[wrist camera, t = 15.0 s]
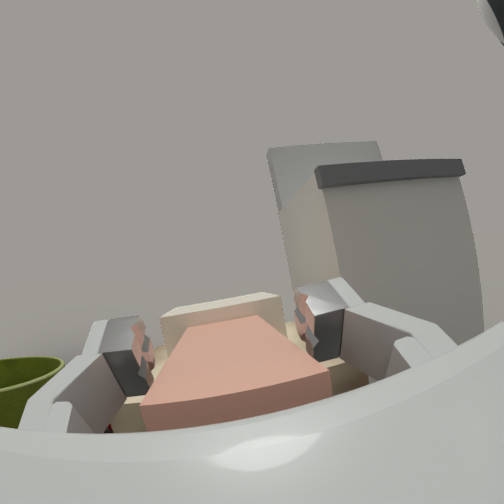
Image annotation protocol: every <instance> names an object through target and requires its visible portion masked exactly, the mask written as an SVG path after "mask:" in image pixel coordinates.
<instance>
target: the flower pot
mask: <svg viewBox="0 0 504 504" xmlns="http://www.w3.org/2000/svg"><path fill="white" fill-rule="evenodd" d="M64 367H65V363H64V361H63V360H62V359H60V358H56V357H47V356H46V357H45V356H35V357H34V356H33V357H18V358H10V359H1V360H0V427H7V428H14V429H18V427H19V424H20V421H21V418H22V415H23V412H24V409H25V406H26V404H27V401H28V399H29V398H30V397H32V396H33V395H34V394H35V393H36V392H37V391H38V390H39V389H40V388H41V387H43V386H44V385H45V384H46V383H47V382H48V381H49V380H50V379H51V378H53V377H54V376H55V375H56V374H57V373H58V372H59V371H60V370H62V369H63V368H64Z"/></svg>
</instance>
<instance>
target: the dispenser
mask: <svg viewBox="0 0 504 504" xmlns="http://www.w3.org/2000/svg"><path fill="white" fill-rule="evenodd" d="M267 159H268V164H269V168H270V173H271V178H272V182H273V187H274V192H275V196H276V201H277V206H278V211H279V213H278V214H279V220H280V225H281V230H282V234H283V240H284V245H285V250H286V255H287V261H288V265H289V271H290V276H291V282H292V287H293V293H294V288H297V287H301V286H306V285H310V284H314V283H318V282H322V281H326V280H329V279H333V278H337V277H342V278H343V279H344V280H345V281H346V282H347V283H348V284H349V285H350V287H351V288H352V289H353V290H354V291H355V292H356V293H357V294H358V295H359V296H360V298H361V299H362V300H363V301H364V302H365V303H368V302H371V303H374V304H377V305H380V306H383V307H386V308H389V309H392V310H395V311H398V312H401V313H404V314H407V315H410V316H413V317H416V318H419V319H423V320H426V321H429V322H432V323H435V324H437V325H438V326H439V327H440V328H441V329H442V330H443V331H444V332H445V333H446V334H447V335H448V336H449V337H450V338H451V339H452V340H453V341H454V342H455V343H456V344H457V345H460V344H462V343H464V342H466V341H468V340H470V339H472V338H474V337H475V336H477V335H479V334H481V333H483V332H484V321H483V306H482V294H481V284H480V276H479V268H478V263H477V255H476V250H475V243H474V238H473V233H472V228H471V223H470V219H469V214H468V210H467V206H466V201H465V198H464V194H463V190H462V186H461V183H460V179H459V177H460V176H462V175H465V174H466V173H465V169H464V166H463V163H462V160H461V159H419V160H418V159H417V160H390V161H383V160H382V157H381V153H380V150H379V147H378V144H377V142H376V141H369V142H344V143H343V142H342V143H325V144H312V145H311V144H310V145H297V146H287V147H276V148H269V150H268V152H267ZM297 307H298V306H297V305H296V308H297ZM368 378H369V384H371V383H374V382H377V380H375V379H373V378H372V377H370V376H368Z"/></svg>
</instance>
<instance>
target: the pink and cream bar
mask: <svg viewBox="0 0 504 504" xmlns="http://www.w3.org/2000/svg"><path fill="white" fill-rule="evenodd" d="M159 319H160V324H161V328H162V333H163V338H164V343H165V347H166V352H167V356H168V360H167V361H166V363H165V364H164V366H163V368H162V369H161V371H160V372H159V374H158V376H157V377H156V379H155V381H154V382H153V384H152V386H151V387H150V389H149V390H148V392H147V394H146V395H145V397H144V399H143V400H142V402H141V403H140V405H139V407H140V410H141V413H142V417H143V420H144V423H145V426H146V429H147V432H150V431H162V430H173V429H182V428H190V427H198V426H205V425H211V424H218V423H224V422H230V421H235V420H240V419H246V418H251V417H255V416H260V415H265V414H269V413H274V412H278V411H282V410H286V409H290V408H294V407H298V406H302V405H305V404H309V403H312V402H316V401H319V400H323V399H326V398H329V397H333V394H332V386H331V378H330V371H329V370H328V369H327V368H326V367H324V366H323V365H322V364H320V363H319V362H318V361H316V360H315V359H314V358H312V357H311V356H310V355H308V354H307V353H306V352H304V351H303V350H302V349H300V348H299V347H298V346H297V345H295V344H294V343H293V342H291V341H290V340H289V339H288V336H287V330H286V325H285V319H284V314H283V308H282V303H281V297H280V296H279V295H274V294H269V293H265V292H259V293H254V294H249V295H243V296H238V297H233V298H227V299H222V300H216V301H211V302H205V303H200V304H194V305H188V306H182V307H176V308H174V309H173V310H171V311H169V312H168V313H166V314H164V315H163V316H161V317H160V318H159Z"/></svg>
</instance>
